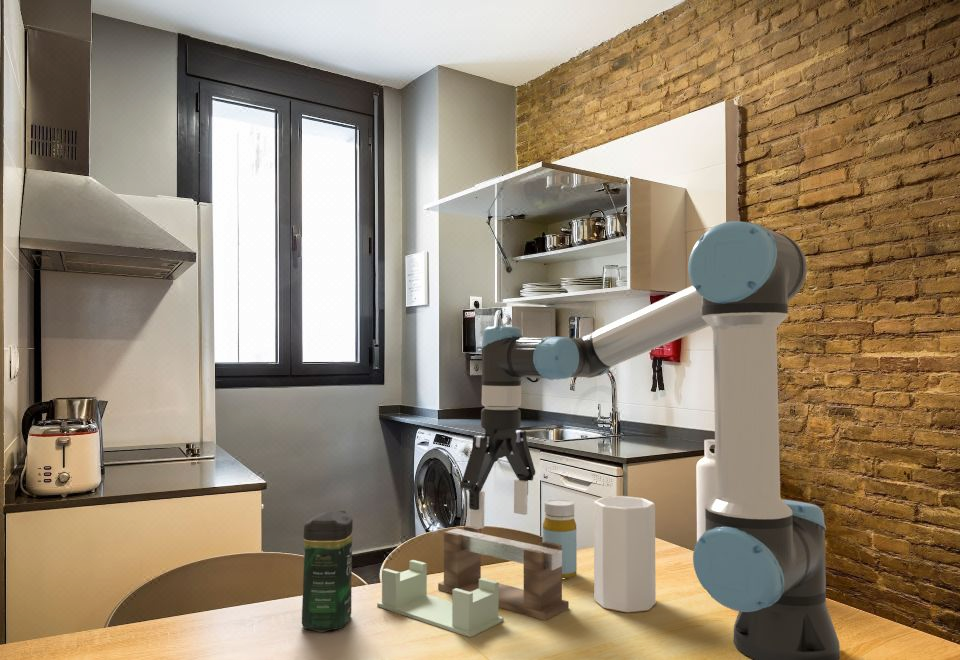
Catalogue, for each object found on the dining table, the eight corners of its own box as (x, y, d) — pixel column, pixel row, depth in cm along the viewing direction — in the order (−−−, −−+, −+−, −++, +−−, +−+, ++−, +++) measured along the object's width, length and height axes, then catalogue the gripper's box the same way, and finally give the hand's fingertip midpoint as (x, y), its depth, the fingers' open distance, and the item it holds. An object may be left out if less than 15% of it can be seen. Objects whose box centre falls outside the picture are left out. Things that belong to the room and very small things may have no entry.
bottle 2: (697, 580, 140) (696, 442, 141) (697, 568, 148) (695, 438, 149) (739, 584, 138) (738, 443, 139) (737, 572, 146) (735, 439, 147)
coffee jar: (344, 633, 113) (345, 519, 114) (296, 633, 113) (298, 519, 114) (356, 612, 123) (357, 506, 123) (312, 611, 123) (313, 506, 123)
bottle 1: (536, 572, 145) (536, 500, 146) (565, 568, 148) (564, 497, 149) (553, 582, 139) (553, 507, 140) (583, 577, 142) (582, 504, 143)
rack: (568, 608, 125) (568, 545, 125) (545, 620, 119) (545, 554, 119) (463, 579, 140) (463, 524, 141) (438, 589, 134) (438, 531, 135)
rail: (561, 566, 123) (561, 550, 123) (552, 570, 121) (552, 554, 121) (456, 542, 139) (456, 528, 139) (445, 545, 136) (445, 531, 136)
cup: (627, 618, 120) (626, 511, 121) (581, 599, 129) (581, 500, 130) (668, 604, 126) (667, 503, 127) (622, 588, 135) (622, 493, 136)
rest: (503, 620, 118) (503, 582, 119) (470, 637, 111) (470, 596, 112) (412, 593, 132) (412, 558, 133) (377, 606, 125) (377, 569, 126)
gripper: (522, 403, 143) (521, 505, 142) (442, 410, 124) (440, 529, 123) (553, 405, 138) (552, 511, 138) (474, 413, 119) (473, 536, 118)
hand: (499, 520), depth 130 cm, fingers open, 13 cm apart
